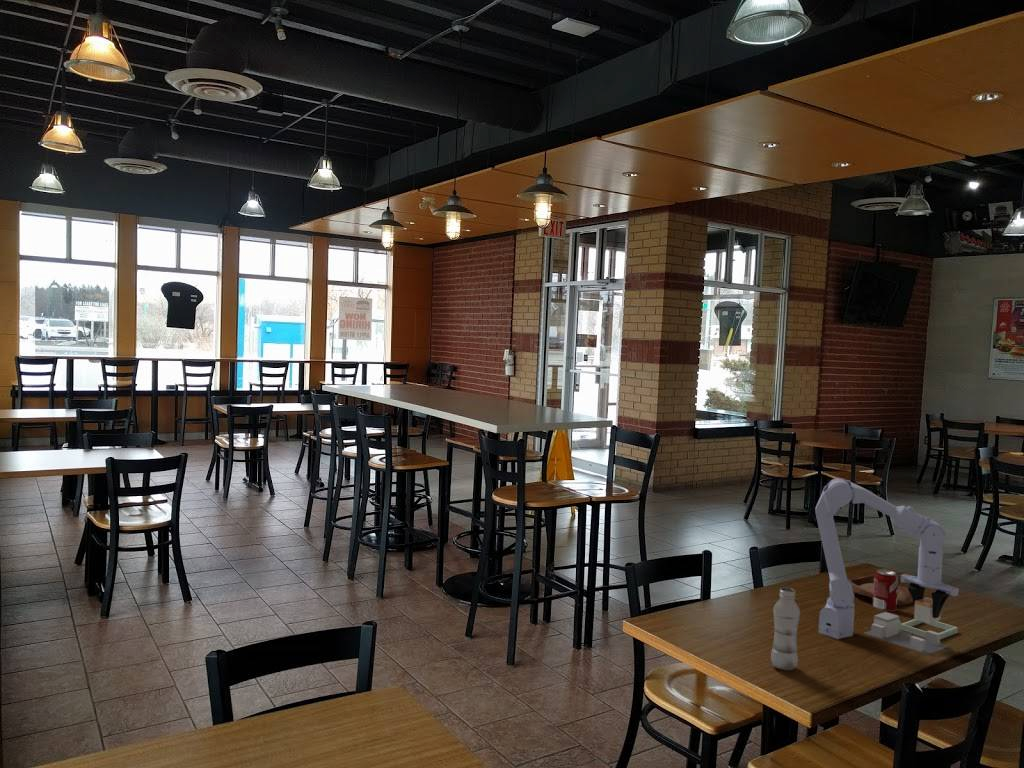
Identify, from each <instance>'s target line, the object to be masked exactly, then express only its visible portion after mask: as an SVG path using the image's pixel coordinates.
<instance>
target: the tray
mask: <svg viewBox="0 0 1024 768" xmlns="http://www.w3.org/2000/svg"><path fill="white" fill-rule="evenodd" d="M920 624H924V625H928V626H932V627H935V628H939V629H941V630H943V631H941V632H939V633H940V640H943V639H945V638H947V637H950V636H952V635H956V634H958V629H959V628H958V627H957V626H955V625H950V624H947V623H944V622H941V621H939V620H937V621H935V622H932V623H926V622H923V621H919V620H916V619H914V618H913V619H911V620H909V621H905V622H901V627H900V631H903V632H906V633H909V634H912V635H913V634H914V635H915V636H918V637H921V638H922V637H923V638H924V639H926V631H927V630H926V631H925V630H923V629H919V628H916V627H915V626H917V625H920Z"/></svg>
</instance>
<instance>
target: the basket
mask: <svg viewBox="0 0 1024 768" xmlns="http://www.w3.org/2000/svg"><path fill="white" fill-rule="evenodd" d="M874 575H875V574H868V575H867V576H866V575H865V576H861V577H857V578H850V579H849V581H850V582H851V584H852V587H853V589H852V590H853V593H854V594H859V595H862V596H866V597H869V598H871V599H873V591H874ZM897 578H898V593H897V605H903V606H907V605H908V604H909V605H911V604H912V603H913V604H914V602H913V599H912V596H911V594H910V592H909V590H908V586H910V583H906V582H905V583H903V582H901V578H899V577H898V576H897Z"/></svg>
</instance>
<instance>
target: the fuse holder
mask: <svg viewBox="0 0 1024 768" xmlns="http://www.w3.org/2000/svg"><path fill="white" fill-rule="evenodd" d="M901 624H902V622H901V620H899V629H898V634H895V635H893V636H890V637H884V636H885V627H884V626H881V625H878V624H875V623H874V622H873V623H871V628H870V630H867V631H865V632H863V634H866V635H868V636H871V637H874V638H877V639H880V640H883V641H886V642H887V643H888V642H889V643H892V644H894V645H897V646H899V647H900V646H901V647H903V648H906V649H909V650H912V651H915V652H917V653H921V654H924V655H927V656H929V655H932V654H935V653H937V652H938V651H942V650H944V649H947V648H948V647H949V646H948V645H944V644H941V639H940V633H941V632H937V631H932V630H931V629H930V630H926V638H924V637H923V638H922V637H921V636H918V635H915V634H914V635H913V634H912V633H909V632H906V631H903V630H901V629H900V627H901Z"/></svg>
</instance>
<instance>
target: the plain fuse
mask: <svg viewBox="0 0 1024 768" xmlns="http://www.w3.org/2000/svg"><path fill="white" fill-rule="evenodd" d="M899 621H900V616H899V615H897V614H894V613H890V612H888V611H885V612H880V613H878V614H875V615H873V624H874V623H875V624H878V625H881V626H884V627H885V636H884V637H890V636H893V635H895V634H898V629H899Z"/></svg>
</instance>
